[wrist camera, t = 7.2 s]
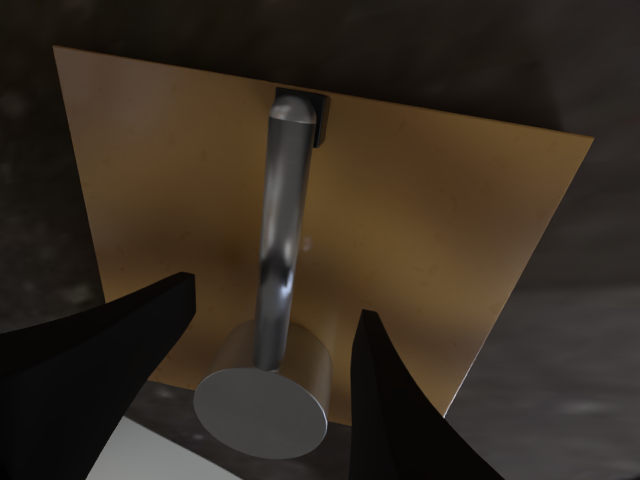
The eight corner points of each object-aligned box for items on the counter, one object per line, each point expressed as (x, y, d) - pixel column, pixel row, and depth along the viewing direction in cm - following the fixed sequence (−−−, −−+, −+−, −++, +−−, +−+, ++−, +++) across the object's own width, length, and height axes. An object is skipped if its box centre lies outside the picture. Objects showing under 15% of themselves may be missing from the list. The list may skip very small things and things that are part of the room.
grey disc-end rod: (323, 411, 18) (316, 471, 15) (221, 388, 18) (195, 442, 15) (397, 108, 10) (412, 108, 7) (224, 79, 11) (173, 68, 8)
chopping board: (425, 420, 19) (429, 444, 18) (136, 356, 20) (119, 374, 19) (568, 133, 11) (596, 137, 10) (84, 51, 12) (50, 43, 11)
